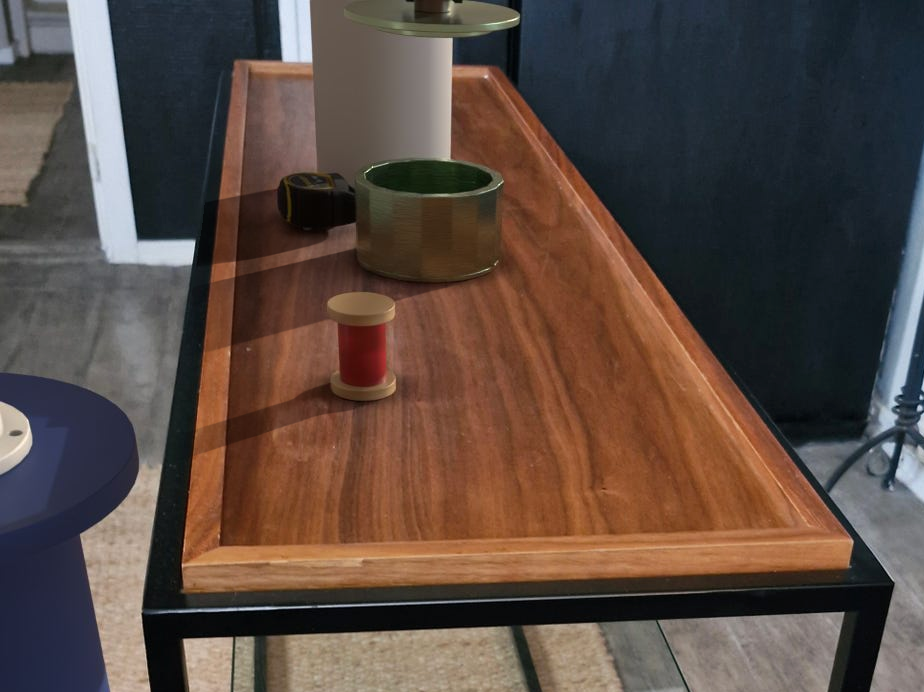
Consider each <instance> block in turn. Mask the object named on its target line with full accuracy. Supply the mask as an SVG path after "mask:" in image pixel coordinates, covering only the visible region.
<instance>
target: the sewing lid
mask: <svg viewBox="0 0 924 692" xmlns="http://www.w3.org/2000/svg"><path fill="white" fill-rule="evenodd" d="M344 16H345V17H346V18H347V19H349V20H351V21H354V22H357V23H360V24H364V25H369V26H372V27H373V28H375V29H377V30H379V31H383V32H387V33H392V34H398V35H405V36H414V37H428V38H453V39H461V38H463V39H464V38H474V37H482V36H485V35H489V34H491V33H492V32H497V31H502V30H507V29H511V28H514V27H516V26H518V25H519V24H520V20H521V14H520V13H519V12H518V11H517V10H515V9H512V8H510V7H507V6H504V5H498V4H493V3H488V2H483V1H482V2H481V1H476V0H475V1H473V0H463V2H462V3H454V2H453V1H452V0H414V2H406V0H361V1H356V2H352V3H349V4H347V5H345V7H344Z"/></svg>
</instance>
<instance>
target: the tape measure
mask: <svg viewBox="0 0 924 692" xmlns="http://www.w3.org/2000/svg"><path fill="white" fill-rule="evenodd" d="M276 191H277V192H276V203H277V210H278V212H279V215H280V216H281V218H282V219H283V220H284V221H285V222H287V223H289V224H291V225H292V226H293V225H294V226H296V227H300V228H302V229H303V230H305V231H309V230H312V229H315V230H316V229H317V230H318V229H319V230H320V229H321V230H323V229H324V230H327V229H333V228H336V227H337V228H338V227H342V226H347V225H351V224H356V210H355V189H354V188H353V187H352V186H351V185H350V184H348V183H347V181H346V180H345V179H344V178H343V177H342V176H341V175H340V174H338V173H330V174H320V173H317V172H306V171H305V172H296V173H291V174H288V175H285V176H284V177H282V178H281V179H280V181H279V184H278V186H277V190H276Z"/></svg>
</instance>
